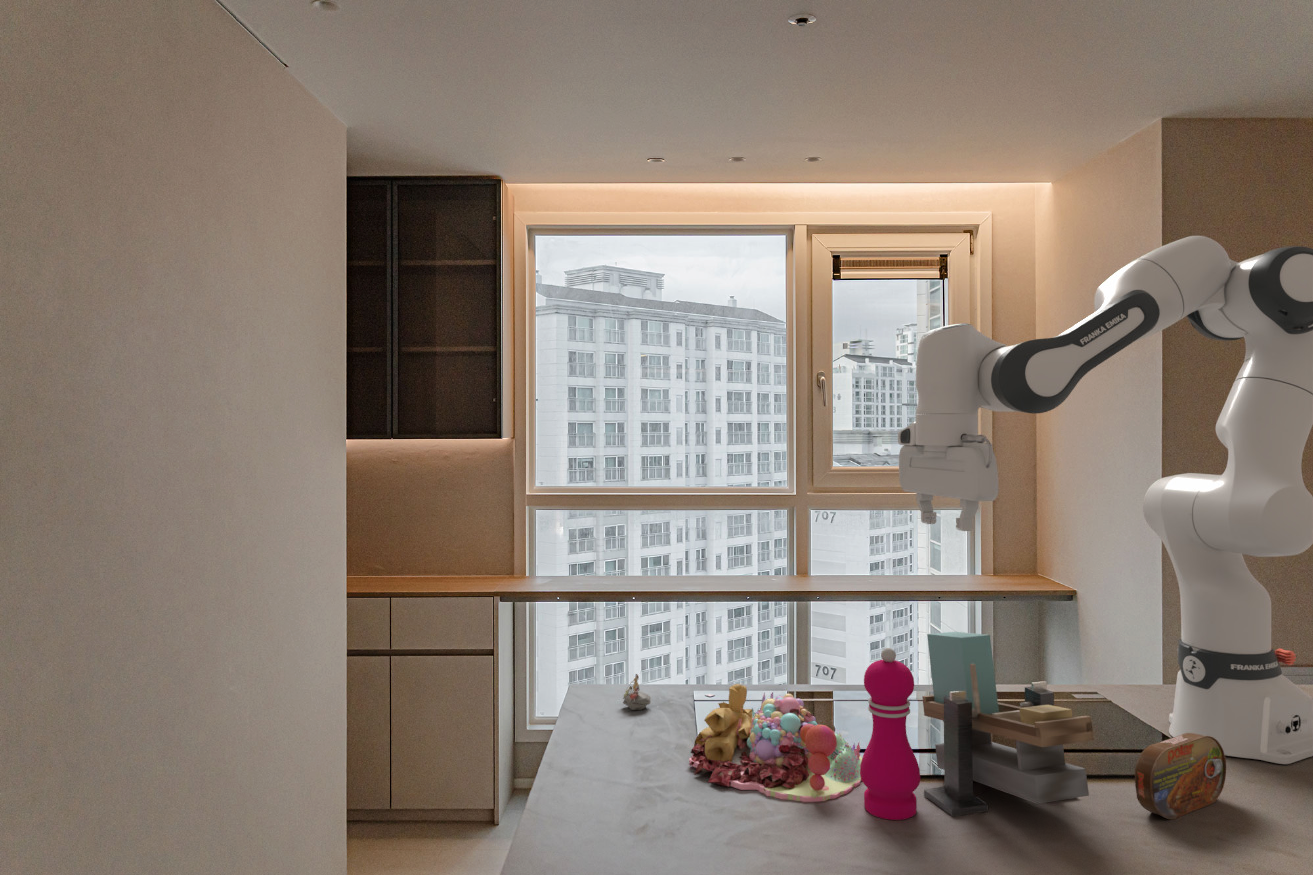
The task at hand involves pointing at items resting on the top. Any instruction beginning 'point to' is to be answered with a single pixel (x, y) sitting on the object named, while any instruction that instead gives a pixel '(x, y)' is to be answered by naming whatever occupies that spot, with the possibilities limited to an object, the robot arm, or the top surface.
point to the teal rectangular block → (963, 667)
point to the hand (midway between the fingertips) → (945, 526)
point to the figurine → (636, 697)
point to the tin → (1180, 775)
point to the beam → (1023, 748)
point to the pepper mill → (889, 741)
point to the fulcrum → (967, 751)
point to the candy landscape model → (775, 750)
